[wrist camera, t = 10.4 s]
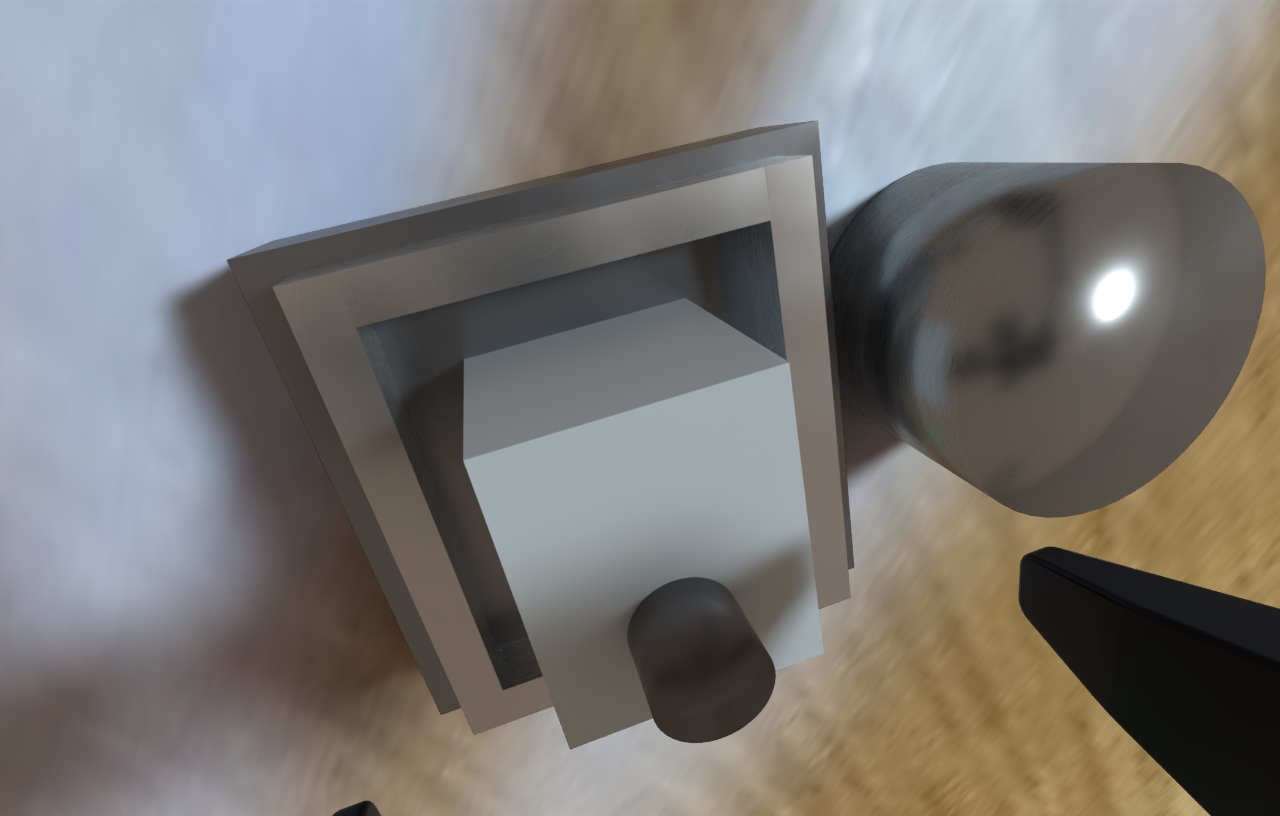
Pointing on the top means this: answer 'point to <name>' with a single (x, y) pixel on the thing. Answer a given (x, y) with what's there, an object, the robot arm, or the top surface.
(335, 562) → the top surface
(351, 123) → the top surface
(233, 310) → the top surface
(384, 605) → the top surface
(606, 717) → the block
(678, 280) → the motor mount
